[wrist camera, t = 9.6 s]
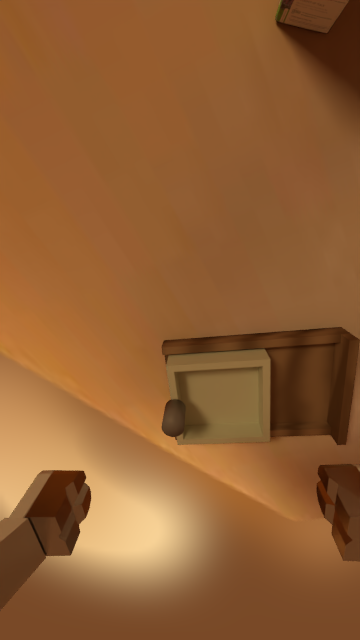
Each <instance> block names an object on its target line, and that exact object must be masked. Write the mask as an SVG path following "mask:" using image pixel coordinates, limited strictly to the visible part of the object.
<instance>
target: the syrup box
mask: <svg viewBox="0 0 360 640" xmlns="http://www.w3.org/2000/svg"><path fill="white" fill-rule="evenodd" d="M348 2H349V0H280V3H279V7H278V11H277V14H276V18H275V20H276V21H277V22H281V23H285V24H289V25H293V26H297V27H301V28H305V29H309V30H314V31H318V32H322V33H328V31H329V30H330V28H331V27H332V26H333V24H334V23H335V21H336V20H337V18H338V16H339V15H340V14H341V12H342V11H343V9H344V8H345V6H346V5H347V3H348Z"/></svg>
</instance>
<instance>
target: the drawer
mask: <svg viewBox="0 0 360 640" xmlns="http://www.w3.org/2000/svg"><path fill="white" fill-rule="evenodd" d="M166 369H167V376H168V383H169V390H170V396H171V400H170V401H168V402H167V403H166V406H165V411H164V417H163V422H162V430H163V432H164V433H165V434H166V435H168V436H171V437H177V443H178V445H188V444H219V443H250V442H270V358H269V356H268V354H267V352H266V350H265V349H264V348H255V349H241V350H227V351H213V352H198V353H184V354H170V355H169V356H168V360H167V364H166Z"/></svg>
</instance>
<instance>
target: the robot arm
mask: <svg viewBox="0 0 360 640" xmlns="http://www.w3.org/2000/svg"><path fill="white" fill-rule="evenodd" d="M318 475H319V477H320V479H321V480H320V481H319V482H318V483H317V497H318V502H319V505H320V508H321V510H322V513H323V515H324V518H325V519H327V520H328V521H329V522H330V523H331V524H332V525H333V526H332V536H333V538H334V540H335V543H336V545H337V547H338V549H339V552H340V554H341V556H342V558H343V560H344V561H360V464H353V465H352V464H341V465H320V466H319V468H318ZM85 479H86V475H85V473H84V471H62V470H52V471H42V472H40V473H39V474H38V475H37V477H36V478H35V480H34V481H33V483H32V484H31V486H30V487H29V488H28V490H27V491H26V493H25V495H24V496H23V498H22V499H21V500H20V502H19V503H18V505H17V506H16V508H15V510H14V511H13V512H12V514H11V515H10V517H9V518H4V519H3V520H2V521H1V522H0V610H1V609H2V608H3V607H4V606H5V605H6V603H7V602H8V601H9V600H10V599H11V598H12V596H13V595H14V594H15V593H16V592H17V591H18V589H19V588H20V587H21V586H22V585H23V584H24V583H25V581H26V580H27V579H28V578H29V577H30V576H31V574H32V573H33V572H34V571H35V570H36V569H37V568H38V566H39V565H40V564H41V563H42V562H43V561H44V559H45V558H46V556H65V555H71V554H72V551H73V549H74V546H75V544H76V541H77V538H78V536H79V534H80V529H79V524H80V523H81V522H82V521H83V520H84V519H85V518H86V516H87V513H88V510H89V508H90V502H91V491H90V487H89V486H88V485H87V484H86V483H84V482H85Z"/></svg>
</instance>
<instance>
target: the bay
mask: <svg viewBox="0 0 360 640" xmlns="http://www.w3.org/2000/svg"><path fill="white" fill-rule="evenodd" d="M359 342H360V340H359V339H358V338H356V337H355V336H353V335H352V334H350V333H349V332H347V331H346V330H345V329H343V328H342V327H336V328H323V329H309V330H296V331H283V332H270V333H257V334H244V335H231V336H217V337H204V338H191V339H178V340H165V341H164V342H163V345H162V354H163V355H165V360H166V364H167V360H168V356H169V355H170V354H184V353H198V352H213V351H227V350H241V349H255V348H264V349H265V350H266V352H267V354H268V356H269V358H270V437H276V436H305V435H331V436H332V437H333V439H334V440H335V442H336V443H337V445H346V440H347V433H348V425H349V418H350V410H351V402H352V395H353V387H354V380H355V372H356V365H357V357H358V350H359ZM175 439H176V440H177V437H175Z"/></svg>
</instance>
